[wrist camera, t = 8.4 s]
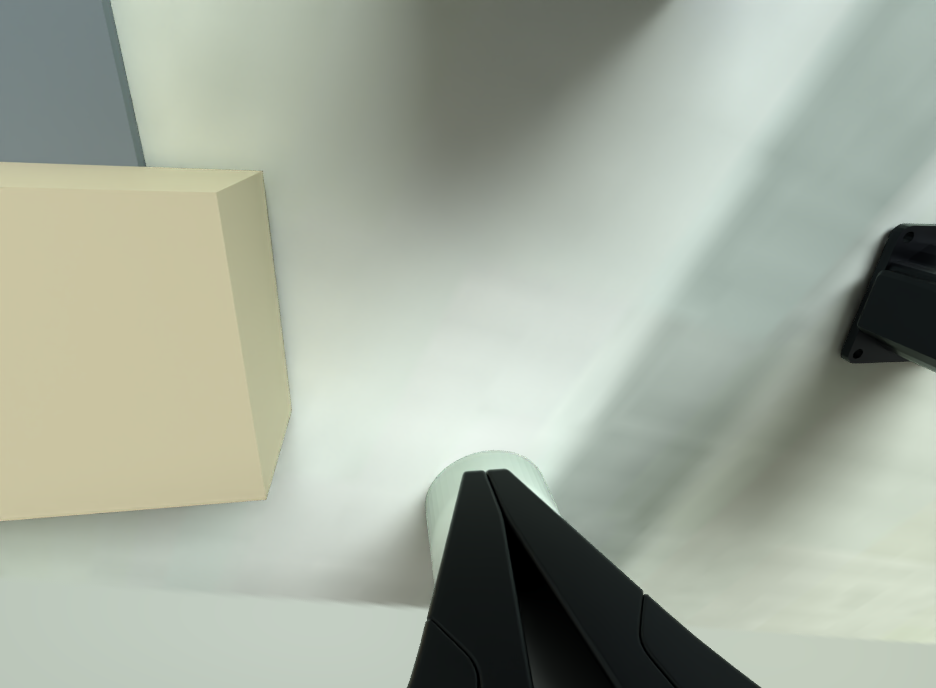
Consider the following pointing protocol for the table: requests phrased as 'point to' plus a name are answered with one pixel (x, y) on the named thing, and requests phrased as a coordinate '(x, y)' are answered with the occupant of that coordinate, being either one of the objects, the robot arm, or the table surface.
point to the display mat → (64, 86)
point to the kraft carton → (136, 339)
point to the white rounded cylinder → (447, 489)
